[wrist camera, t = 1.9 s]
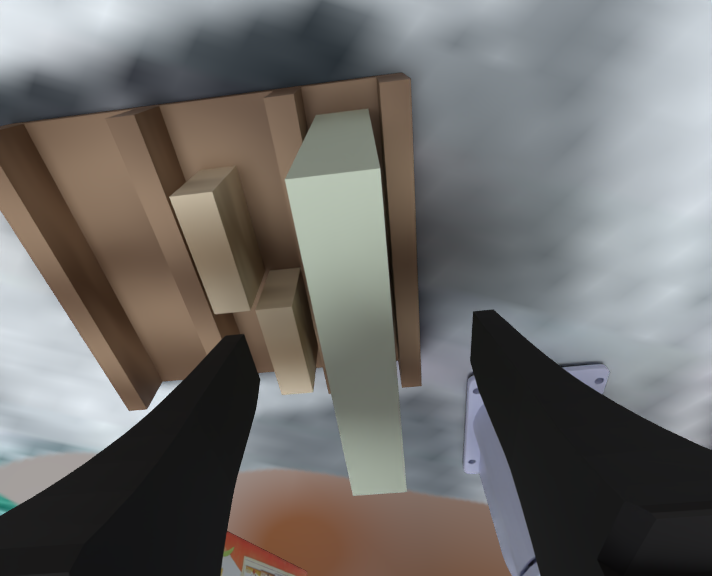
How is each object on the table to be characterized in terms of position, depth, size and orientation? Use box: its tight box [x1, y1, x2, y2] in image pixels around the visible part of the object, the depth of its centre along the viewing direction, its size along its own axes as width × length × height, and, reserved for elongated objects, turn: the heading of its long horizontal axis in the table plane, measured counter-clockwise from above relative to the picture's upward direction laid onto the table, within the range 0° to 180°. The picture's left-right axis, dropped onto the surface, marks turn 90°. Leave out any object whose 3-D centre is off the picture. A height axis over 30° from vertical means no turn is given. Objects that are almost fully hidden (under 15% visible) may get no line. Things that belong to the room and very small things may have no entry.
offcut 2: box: [255, 267, 318, 395], centre depth 19 cm, size 5×2×3 cm, turn 7°
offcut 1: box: [169, 166, 265, 314], centre depth 16 cm, size 5×2×3 cm, turn 7°
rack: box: [0, 73, 422, 411], centre depth 18 cm, size 14×16×3 cm
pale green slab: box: [285, 109, 407, 496], centre depth 15 cm, size 12×2×8 cm, turn 7°
